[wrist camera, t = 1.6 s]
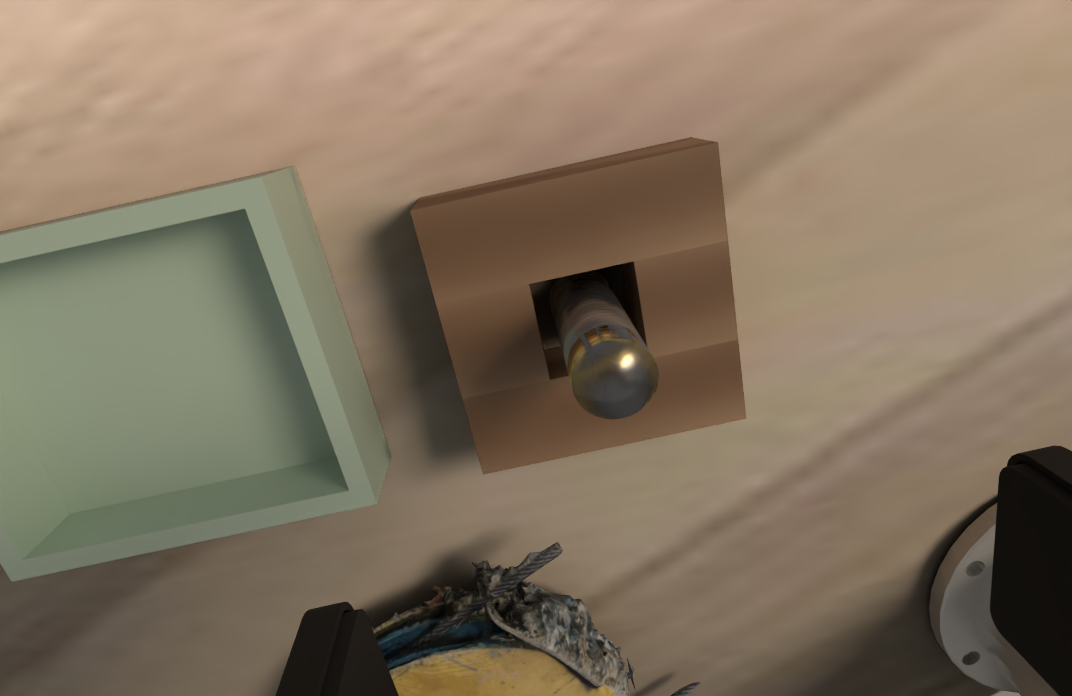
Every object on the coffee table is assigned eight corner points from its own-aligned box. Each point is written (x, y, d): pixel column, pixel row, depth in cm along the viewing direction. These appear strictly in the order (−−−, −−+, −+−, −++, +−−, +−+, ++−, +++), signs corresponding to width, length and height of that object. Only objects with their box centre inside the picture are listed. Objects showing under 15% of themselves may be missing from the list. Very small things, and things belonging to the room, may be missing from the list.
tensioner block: (720, 385, 27) (746, 418, 24) (484, 435, 27) (483, 474, 24) (691, 137, 23) (717, 142, 21) (420, 197, 24) (409, 210, 21)
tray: (391, 455, 27) (376, 504, 24) (69, 524, 28) (11, 581, 24) (294, 165, 23) (261, 176, 20) (-87, 251, 23) (-181, 275, 20)
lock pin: (615, 319, 26) (664, 409, 18) (555, 332, 26) (580, 427, 18) (605, 261, 25) (652, 330, 17) (543, 274, 25) (564, 349, 17)
